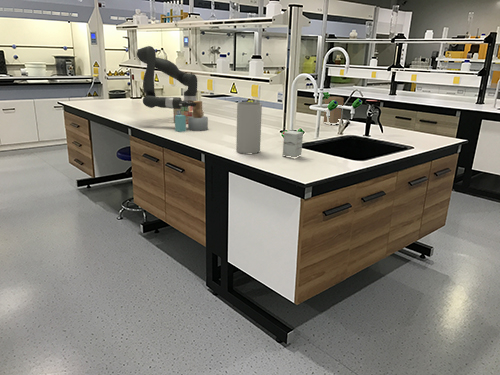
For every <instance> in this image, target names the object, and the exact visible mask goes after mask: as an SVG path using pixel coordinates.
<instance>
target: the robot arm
mask: <svg viewBox="0 0 500 375" xmlns="http://www.w3.org/2000/svg"><path fill="white" fill-rule="evenodd" d="M136 56H137V58H138V60H139V61H140V62H142V63H144V64H146V69H145V72H144V76H143V79H142V80H143V81H142V83H143V92H144V94H145V96H144V97H143V99H142V103H143V105H144V106H145V107H147V108H149V109H153V108H155V107H158V108H161V109H172V110H173V109H181V107H190V106H192V111H193V107H195V106H196V103H193V102H194V101H197V92H198V77H197V75H196V74H194V73H186V72H184V71H182V70H180V69H179V68H178V66H177V65H176V64H175V63H173V62H172V61H170V60H168V59H167V58H166V59H165V58H163V57H162V58H161V57H158V56H157V53H156V50H155V48H154V47H153V46H151V45H147V46H144V47H141V48H139V49H137V51H136ZM155 69H156V70H158V71H160V72H162V73H163V74H165V75H166V76H169V77H171V78H173V79H175V80H176V81H177V82H179V83H180V84H181V85H183V86H184V87H185V86H186V87H187V90H184V92H183V100H182V98H181V97H179V96H176V97H175V96H157V95H156V91H155Z"/></svg>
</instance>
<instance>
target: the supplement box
mask: <svg viewBox="0 0 500 375" xmlns="http://www.w3.org/2000/svg"><path fill="white" fill-rule="evenodd" d="M303 136H304V132H303V131H302V132H301V131H296V130H287V131H284V132H283V144H282V145H283V146H282V156H283V155H285V156H291V157H297V156H299V155H301V156H302V150H303V138H304V137H303Z"/></svg>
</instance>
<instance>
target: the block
mask: <svg viewBox="0 0 500 375" xmlns="http://www.w3.org/2000/svg"><path fill="white" fill-rule="evenodd" d="M328 97H329V98H328V99H326V98H325V99H324V100H325V103H324V105H325V104H328V103H329V102H330V101H332V100H335V101H337V102H338V105H342V106H343V107H344V100H345V98H344V97H341V96H328ZM323 113H324V114H323V123H324V122H327V117H326V112H324V111H323ZM340 118H341V109H339V108H336V109H334V110H333V111H331V112H330V118H329V122H330V123H337V122H339V120H338V119H340Z"/></svg>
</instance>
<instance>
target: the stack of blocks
mask: <svg viewBox="0 0 500 375" xmlns="http://www.w3.org/2000/svg"><path fill="white" fill-rule="evenodd" d="M172 111H173V113H172V114H173V123H174V124H175V115H185V116H186V125H188V117H189V116H193V111H192V106H190V107H181V109H172ZM204 112H205V111H203V110H202V116H205V115H204V114H205V113H204Z"/></svg>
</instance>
